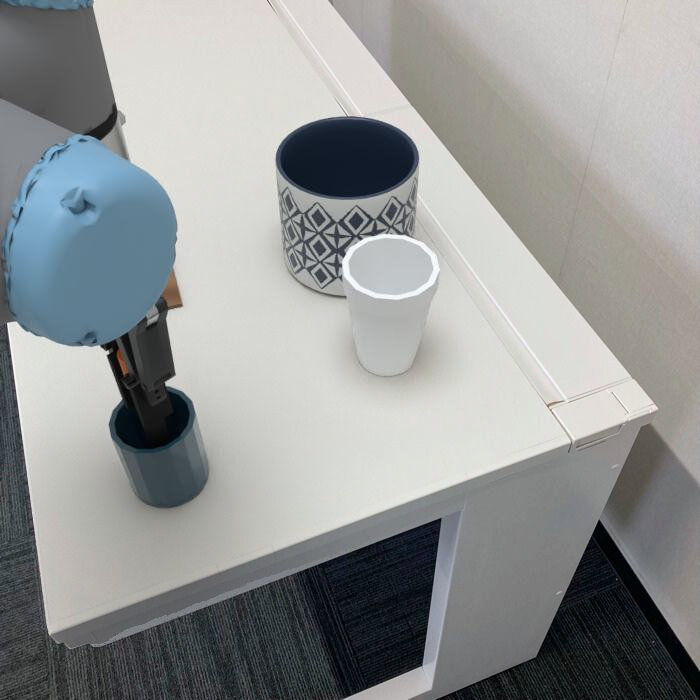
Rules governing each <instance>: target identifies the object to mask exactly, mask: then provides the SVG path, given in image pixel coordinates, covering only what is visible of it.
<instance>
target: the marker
mask: <svg viewBox="0 0 700 700" xmlns="http://www.w3.org/2000/svg"><path fill="white" fill-rule="evenodd" d="M117 357H118V360H119V363H120V366H121V369H122V371H123V374H124V377H125V374H127V373H128V369H127V367H126V364H125V361H124V359H123V356H122V354H121V351H120V349H118V352H117ZM132 398H133V397H132ZM133 401H134V400H133ZM134 404H135V403H134ZM135 407H136V406H135ZM136 410H137V409H136ZM140 421H141V420H140ZM141 424H142V423H141ZM142 427H143V430H144V432H145V435H146V438H147V441H148V444H149V447H150V449H155V448H158V447H162V446H165V445H167V444H169V443H171V442H172V441H171V438H170V434H169V431H168V428H167V425H166V422H165V418H163V419H162V420H160V421H159V422H157V423H156V424H154V425H153V426H151V427H149V428H148V429H146V428H145V427H144V426H143V425H142Z"/></svg>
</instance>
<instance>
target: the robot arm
mask: <svg viewBox="0 0 700 700" xmlns="http://www.w3.org/2000/svg"><path fill="white" fill-rule="evenodd" d="M94 3H95V2H94V0H0V327H1V326H3V325H6V324H9V323H17V324H18V325H19V326H20V328H21V329H22V330H24V332H26V333H31V334H32V335H34V336H35V337H38V338H39V337H40V338H45V339H47V340H49V341H52V342H54V343H55V344H59V345H63V346H66V347H67V346H68V347H89V348H93V347H98V346H99V347H100V349H103V351H104V352H108V354H106V358H107V361H108V364H109V367H110V370H111V373H112V375H113V378H114V380H115V383H116V386H117V389H118V391H119V394H120V397H121V400H122V399H123V402H124V405H125V406H126V407H127V408H128V409H129V410H130V409H132V408H133V407H135V406H136V409H137V412H138V415H139V418H140V420H141V423H142V425H143V426H144V427H145V428H146V429H148V428H149V427H151V426H153V425H154V424H156V423H157V422H159V421H160V420H162V419H163V418H165V417H167V416H168V415H170V414H171V413H173V408H172V405H171V402H170V398H169V395H168V391H167V388H166V386H167V385H166V382H168V381H170V380H171V379H173V378H174V377H176V376H177V373H176V368H175V362H174V355H173V351H172V344H171V339H170V332H169V327H168V322H167V318H168V313H169V310H170V309H169V308H168V305H167V301H166V300H165V299H164V298H163V297H162V296H161V294H162V292H163V291H164V289H165V287H166V285H167V283H168V280H169V278H170V275H171V273H172V269H173V270H174V265H175V262H176V258H177V250H176V249H177V248H176V243H177V242H178V236H177V233H178V231H179V229H178V220H177V216H176V210H175V207H174V205H173V202H172V200H171V198H170V196H169V194H168V192H167V191H166V190H165V188H164V187H163V185H162V184H161V182H159V180H157V179H156V178H155V177H154V176H153V175H151V174H150V173H149V172H147V170H144V169H143V168H141V167H139V166H137V165H136V164H135V163H133V162H131V157H130V152H129V149H128V145H127V141H126V137H125V134H124V129H123V126H124V125H125V124H126V122H127V119H126V115H125V114H124V113H123V112H122V111H121V110H118V107H117V102H116V97H115V94H114V89H113V85H112V81H111V78H110V77H111V76H110V73H109V69H108V64H107V61H106V56H105V51H104V47H103V43H102V38H101V35H100V31H99V26H98V22H97V18H96V13H95V10H94ZM118 349H120V351H121V354H122V356H123V359H124V361H125V364H126V367H127V369H128V373H127V374H125V377H124V374H123V371H122V369H121V366H120V363H119V360H118V357H117V352H118ZM132 397H133V398H132ZM133 400H134V401H133ZM134 403H135V404H134Z"/></svg>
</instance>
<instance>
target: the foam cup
mask: <svg viewBox="0 0 700 700" xmlns="http://www.w3.org/2000/svg"><path fill="white" fill-rule="evenodd" d="M440 271H441V268H440V265H439V261H438V257H437V255H436V253H435V252H434V251H433V250H432V249H431V248H429V247H428V245H426V244H425V243H424V242H423V241H420V240H417V239H415V238H414V239H413V238H410V237H408V236H405V235H392V234H382V235H377V236H373V237H368V238H364V239H363V240H361V241H360V242H358V243H356V244H355V245H353V246H352V247H350V248H349V250H348V252H347V253H346V255H345V257H344V259H343V261H342V281H343V288H344V294H345V295H346V296H345V297H346V300H347V305H348V310H349V315H350V323H351V327H352V333H353V338H354V343H355V348H356V353H357V358H358V362H359V363H360V365H361V366H362V367H363V369H364V370H365V371H367V372H370V374H371V373H372V374H373V375H375V376H381V377H394V376H398V375H402V374H404V373H405V372H406V371H408V370H409V369H410V368H411V367H412V366H413V364H414V362H415V359H416V357H417V353H418V351H419V347H420V343H421V340H422V338H423V337H422V336H423V333H424V329H425V326H426V323H427V319H428V316H429V314H430V313H429V312H430V309H431V306H432V302H433V300H434V298H435V295H436V293H437V290H438V288H439V281H440V273H441V272H440Z"/></svg>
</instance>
